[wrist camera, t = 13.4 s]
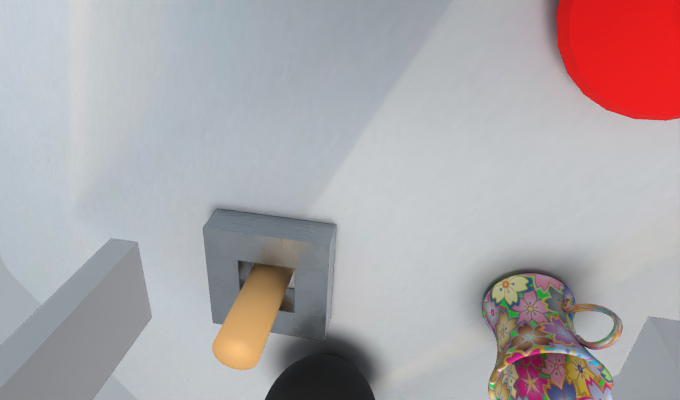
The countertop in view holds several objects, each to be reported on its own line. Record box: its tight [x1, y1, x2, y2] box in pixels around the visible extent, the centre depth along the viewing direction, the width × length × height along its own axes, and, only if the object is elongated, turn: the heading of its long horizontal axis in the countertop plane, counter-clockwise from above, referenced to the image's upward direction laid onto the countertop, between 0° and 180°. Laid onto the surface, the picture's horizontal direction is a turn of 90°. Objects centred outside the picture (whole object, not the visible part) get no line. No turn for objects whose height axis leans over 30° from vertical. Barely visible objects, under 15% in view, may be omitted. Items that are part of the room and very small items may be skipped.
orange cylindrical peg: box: [212, 263, 294, 370], centre depth 44 cm, size 4×4×12 cm
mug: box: [482, 273, 623, 400], centre depth 42 cm, size 12×9×11 cm
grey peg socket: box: [203, 209, 336, 341], centre depth 48 cm, size 12×12×4 cm
